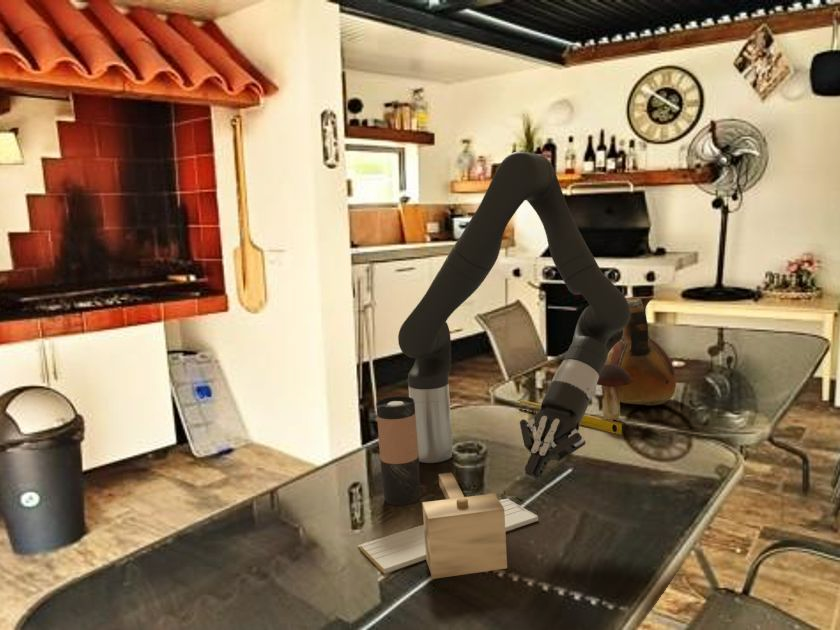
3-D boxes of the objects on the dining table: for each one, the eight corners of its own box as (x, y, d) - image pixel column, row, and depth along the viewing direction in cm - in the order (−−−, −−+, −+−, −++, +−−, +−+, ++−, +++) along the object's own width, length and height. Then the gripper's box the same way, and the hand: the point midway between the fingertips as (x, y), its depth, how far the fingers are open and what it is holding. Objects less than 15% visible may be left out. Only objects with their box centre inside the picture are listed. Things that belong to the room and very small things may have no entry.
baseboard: (354, 546, 117) (384, 577, 107) (353, 531, 117) (383, 560, 106) (499, 500, 132) (538, 523, 121) (499, 486, 131) (538, 508, 121)
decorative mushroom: (642, 422, 170) (642, 364, 167) (609, 430, 165) (607, 371, 163) (612, 411, 180) (611, 357, 177) (580, 419, 175) (578, 363, 173)
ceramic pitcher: (665, 391, 195) (664, 289, 190) (685, 412, 175) (685, 299, 171) (596, 394, 197) (593, 292, 192) (608, 415, 177) (606, 302, 173)
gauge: (415, 526, 122) (411, 470, 120) (480, 518, 124) (477, 462, 122) (432, 579, 104) (427, 513, 103) (507, 568, 106) (504, 504, 104)
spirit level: (625, 434, 162) (625, 423, 162) (622, 436, 162) (622, 424, 161) (521, 409, 188) (520, 398, 188) (518, 410, 187) (517, 400, 187)
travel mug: (427, 492, 136) (421, 397, 133) (411, 508, 129) (404, 408, 126) (394, 488, 139) (387, 394, 136) (376, 503, 132) (368, 405, 129)
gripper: (531, 374, 122) (490, 457, 116) (595, 385, 113) (554, 477, 107) (548, 395, 127) (509, 476, 121) (611, 408, 118) (573, 497, 111)
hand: (531, 477), depth 114 cm, fingers closed
